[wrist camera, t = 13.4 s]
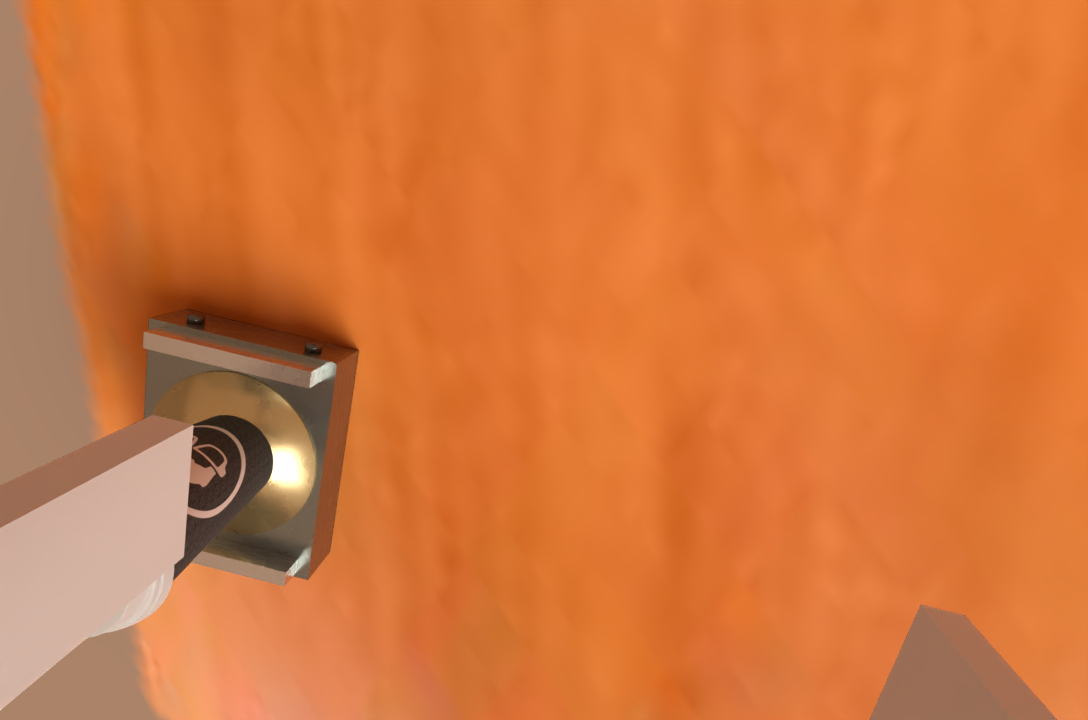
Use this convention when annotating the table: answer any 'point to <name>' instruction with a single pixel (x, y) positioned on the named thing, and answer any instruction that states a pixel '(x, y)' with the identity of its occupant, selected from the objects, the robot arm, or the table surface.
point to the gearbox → (261, 429)
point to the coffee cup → (208, 499)
